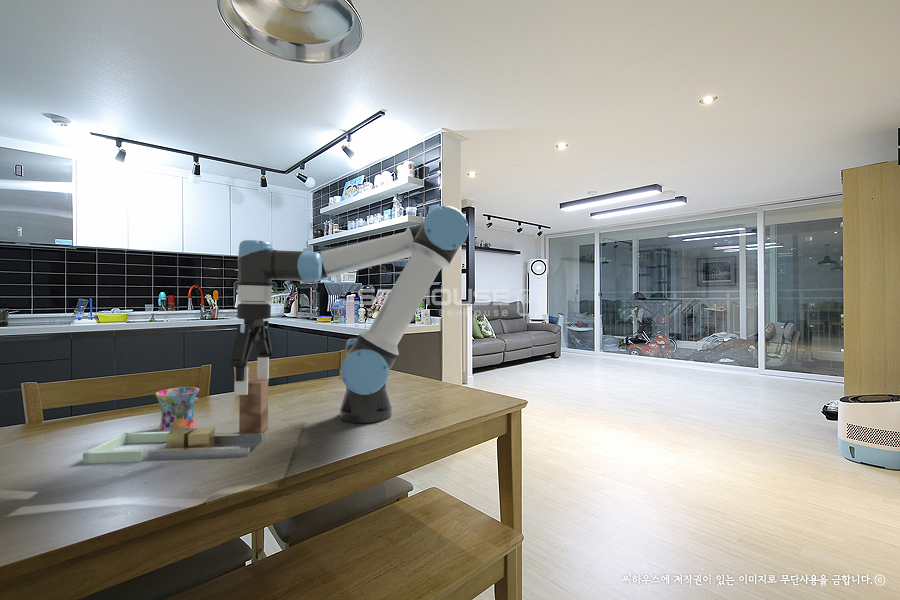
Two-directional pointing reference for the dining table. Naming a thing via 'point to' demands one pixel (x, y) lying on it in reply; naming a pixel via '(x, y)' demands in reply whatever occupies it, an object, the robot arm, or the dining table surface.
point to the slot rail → (213, 448)
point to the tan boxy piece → (201, 438)
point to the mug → (177, 408)
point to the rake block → (254, 407)
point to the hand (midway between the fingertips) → (252, 387)
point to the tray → (107, 454)
